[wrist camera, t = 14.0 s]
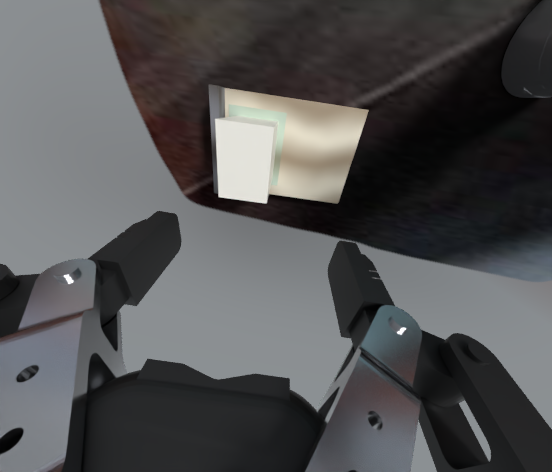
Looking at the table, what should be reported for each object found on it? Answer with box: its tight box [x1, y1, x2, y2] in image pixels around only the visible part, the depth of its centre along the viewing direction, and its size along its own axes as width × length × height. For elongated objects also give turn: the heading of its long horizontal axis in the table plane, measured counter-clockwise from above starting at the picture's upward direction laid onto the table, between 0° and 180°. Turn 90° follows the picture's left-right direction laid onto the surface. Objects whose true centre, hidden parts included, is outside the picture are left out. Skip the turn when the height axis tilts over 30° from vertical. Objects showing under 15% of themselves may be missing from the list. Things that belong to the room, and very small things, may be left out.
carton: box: [215, 116, 279, 204], centre depth 22 cm, size 5×7×9 cm
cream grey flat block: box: [209, 85, 369, 204], centre depth 26 cm, size 12×18×4 cm, turn 83°
